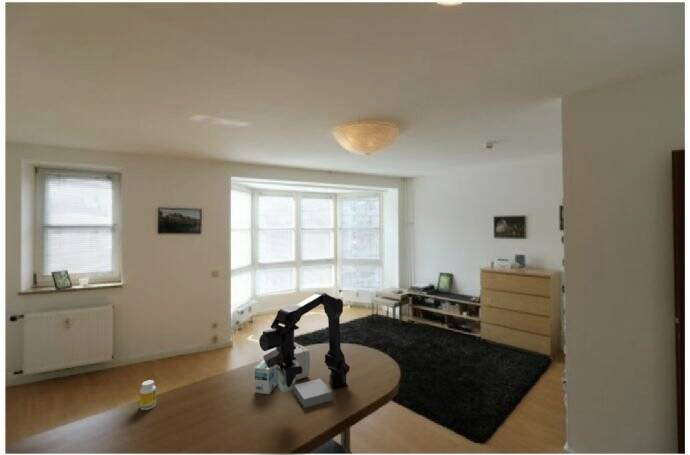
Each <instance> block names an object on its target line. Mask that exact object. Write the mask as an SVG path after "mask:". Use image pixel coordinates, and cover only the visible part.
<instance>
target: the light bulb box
mask: <svg viewBox="0 0 690 455" xmlns="http://www.w3.org/2000/svg"><path fill="white" fill-rule="evenodd" d="M278 371H279V368H278V365H277V364H276V365H275V366H273V367H271V368H268V367H267V365H266V363H265V361H264V359H262V361H260V363H258V364H257V365H256V366H255V367H254V393H255V394H256V393H257V394H264V395H270V394H271V392H272V391H273V390H274V389H275V387H276V386H278Z"/></svg>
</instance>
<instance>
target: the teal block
mask: <svg viewBox="0 0 690 455" xmlns="http://www.w3.org/2000/svg"><path fill="white" fill-rule="evenodd" d="M282 371H283V370H280V369H278V384H277V386H278V388H279V389H280V391H281V393H285V392H289V391H294V389H295V385H296V380H295V378H294V380H293V382H292V384H291V386H290V387H287V382H286V376H285V375H284V374H283V372H282Z"/></svg>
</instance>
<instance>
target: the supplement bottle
mask: <svg viewBox="0 0 690 455" xmlns="http://www.w3.org/2000/svg"><path fill="white" fill-rule="evenodd" d="M139 400H140V401H139V403H140V404H139V406H140V407H139V408H140V409H141V410H142V411H147V410H148V411H149V410H150V409H153V408H154V407H155V406H156V405H157V387H156V385H155V381H154V380H153V379H149V380H144V381H143V382H142V383H141V388H140V390H139Z"/></svg>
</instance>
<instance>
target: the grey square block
mask: <svg viewBox="0 0 690 455" xmlns="http://www.w3.org/2000/svg"><path fill="white" fill-rule="evenodd" d="M294 393H295V394H294ZM293 394H294V395H295V397H296V396H297V397H296V398H297V400H298V399H299V400H298V401H299V403H300V402H301V403H300V404H301V406H302V405H303V406H302V407H303V408H304V409H306V408H305V407H307V408H310V407H314V406H317V405H320V404H324V403H327V402H331V401H333V391H332V390H331V388H330V387H329V386H328V385H327V384H326V383H325V382H324V381H323V380H322V379H321V378H318V379H313V380H310V381H309V380H308V381H305V382H301V383H295V389H293ZM309 406H310V407H309Z"/></svg>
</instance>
